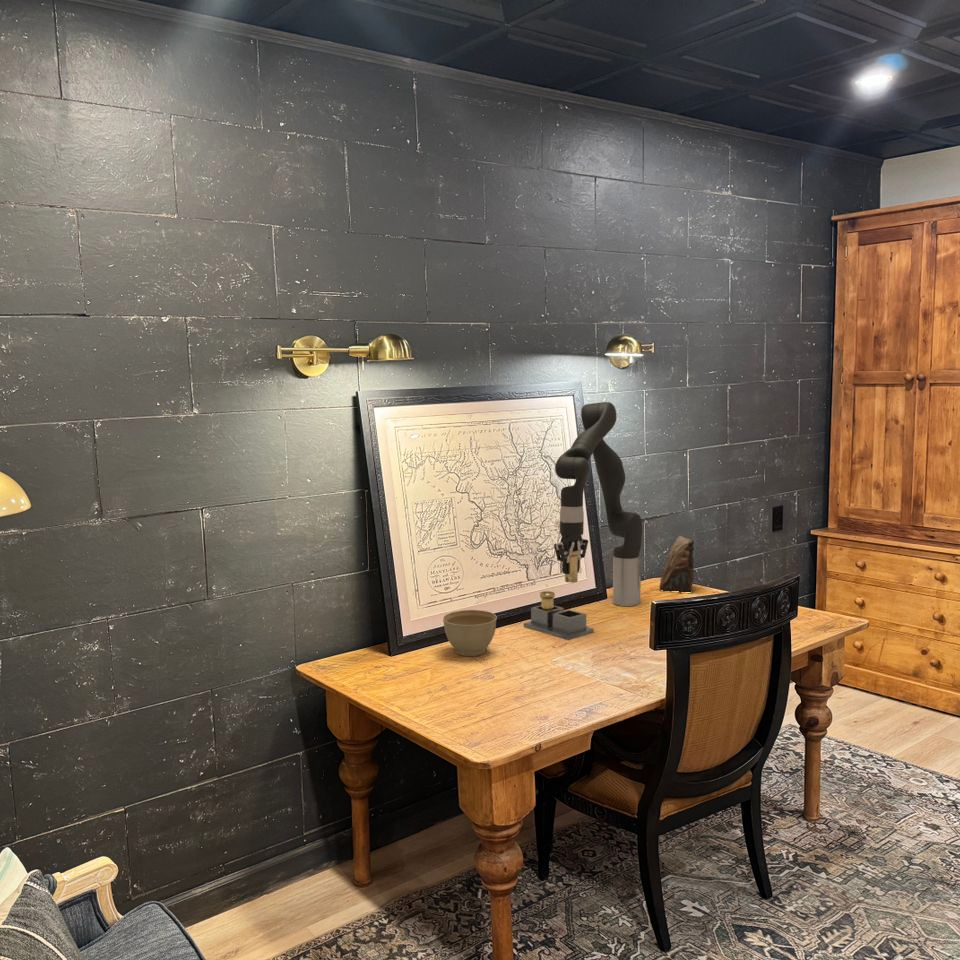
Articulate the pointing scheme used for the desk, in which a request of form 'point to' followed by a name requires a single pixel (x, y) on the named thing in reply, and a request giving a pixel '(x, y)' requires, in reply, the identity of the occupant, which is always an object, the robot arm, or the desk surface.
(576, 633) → the grey double holder
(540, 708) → the desk surface
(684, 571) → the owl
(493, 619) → the planter bowl
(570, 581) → the brass stub
